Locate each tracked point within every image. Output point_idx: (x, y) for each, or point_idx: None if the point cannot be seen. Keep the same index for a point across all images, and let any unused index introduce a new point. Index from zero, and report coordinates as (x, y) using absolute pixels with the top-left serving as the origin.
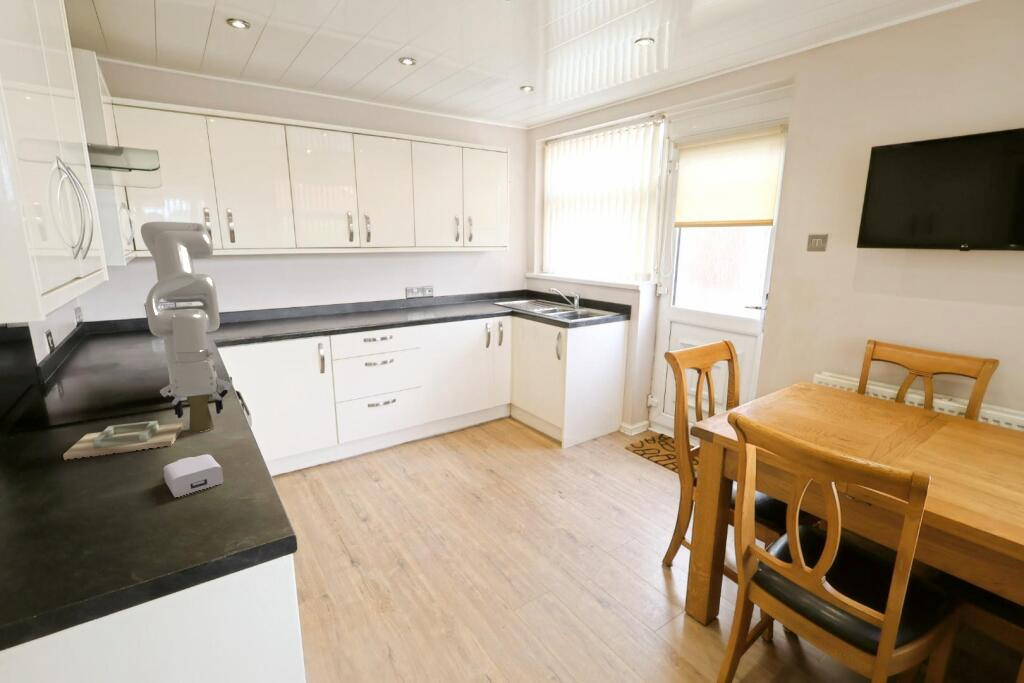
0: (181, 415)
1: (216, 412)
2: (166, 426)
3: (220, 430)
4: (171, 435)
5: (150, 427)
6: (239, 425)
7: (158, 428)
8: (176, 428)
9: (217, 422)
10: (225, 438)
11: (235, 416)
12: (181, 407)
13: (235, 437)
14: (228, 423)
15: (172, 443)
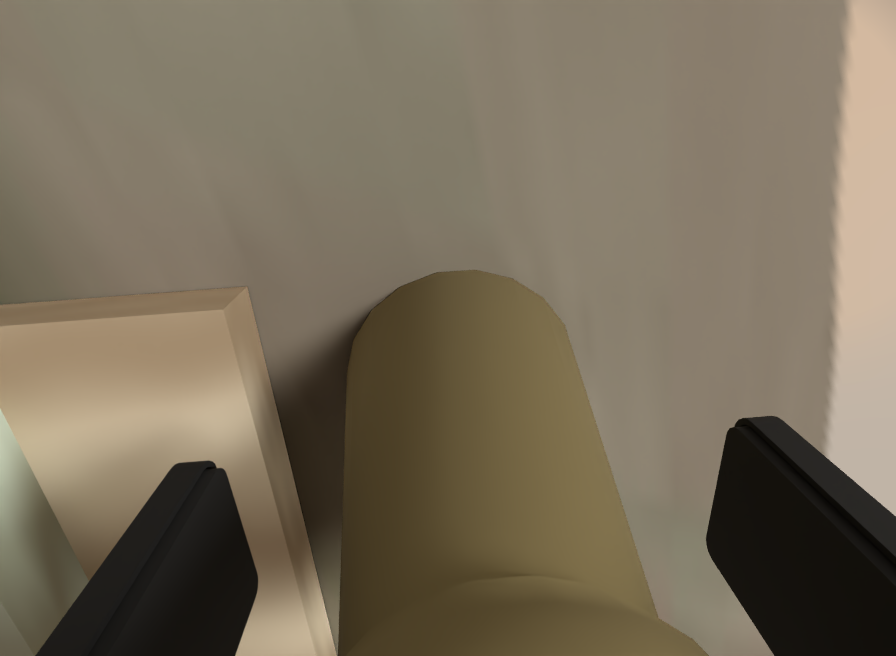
0: (243, 569)
1: (714, 562)
2: (81, 394)
3: (639, 468)
4: (283, 627)
5: (10, 643)
6: (808, 389)
7: (23, 434)
8: (243, 484)
9: (594, 220)
10: (680, 621)
11: (813, 23)
12: (171, 639)
13: (747, 620)
14: (712, 296)
15: (332, 650)
